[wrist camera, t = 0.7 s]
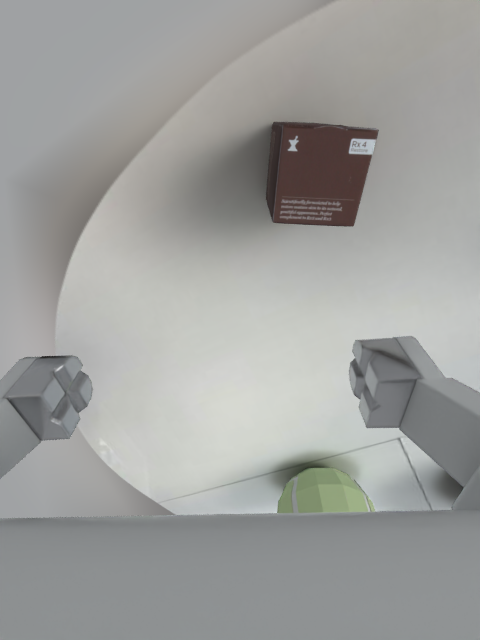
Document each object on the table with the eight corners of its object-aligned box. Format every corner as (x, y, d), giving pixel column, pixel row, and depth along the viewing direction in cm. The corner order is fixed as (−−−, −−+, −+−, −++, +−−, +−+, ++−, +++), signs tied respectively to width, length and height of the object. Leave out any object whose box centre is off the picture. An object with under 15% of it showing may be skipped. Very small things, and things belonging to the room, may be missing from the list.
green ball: (367, 449, 49) (409, 561, 37) (351, 494, 58) (380, 597, 45) (276, 449, 50) (287, 561, 37) (273, 493, 58) (281, 596, 46)
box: (264, 199, 27) (269, 224, 21) (271, 120, 24) (280, 122, 18) (330, 203, 27) (354, 228, 21) (347, 125, 24) (382, 128, 18)
